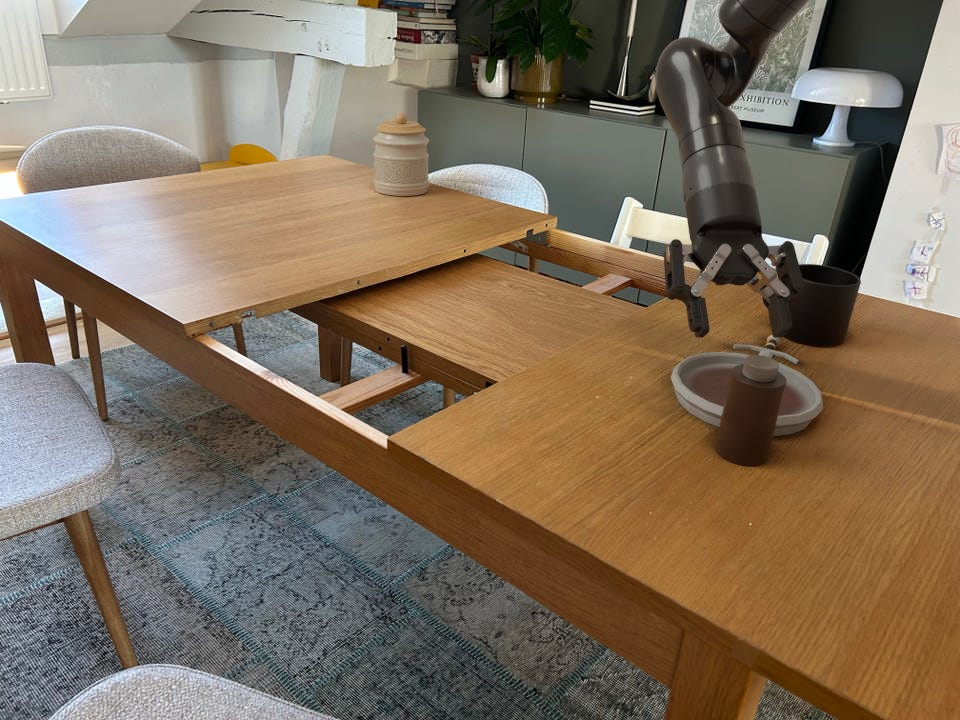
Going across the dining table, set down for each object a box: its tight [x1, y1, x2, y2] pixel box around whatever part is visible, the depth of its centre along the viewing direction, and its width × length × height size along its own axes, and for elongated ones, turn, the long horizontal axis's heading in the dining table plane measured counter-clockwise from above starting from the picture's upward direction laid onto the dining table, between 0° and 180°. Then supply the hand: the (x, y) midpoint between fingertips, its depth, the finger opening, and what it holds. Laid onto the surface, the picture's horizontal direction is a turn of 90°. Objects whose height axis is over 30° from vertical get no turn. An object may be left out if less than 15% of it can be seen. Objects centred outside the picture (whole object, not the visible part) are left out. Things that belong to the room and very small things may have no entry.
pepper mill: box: [714, 354, 787, 467], centre depth 74 cm, size 5×5×10 cm
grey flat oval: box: [670, 334, 824, 437], centre depth 90 cm, size 17×3×28 cm
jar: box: [372, 112, 430, 197], centre depth 170 cm, size 13×13×18 cm
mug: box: [761, 263, 862, 348], centre depth 104 cm, size 9×12×9 cm
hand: (742, 335), depth 76 cm, fingers open, 8 cm apart
